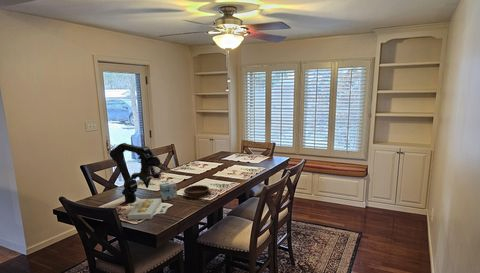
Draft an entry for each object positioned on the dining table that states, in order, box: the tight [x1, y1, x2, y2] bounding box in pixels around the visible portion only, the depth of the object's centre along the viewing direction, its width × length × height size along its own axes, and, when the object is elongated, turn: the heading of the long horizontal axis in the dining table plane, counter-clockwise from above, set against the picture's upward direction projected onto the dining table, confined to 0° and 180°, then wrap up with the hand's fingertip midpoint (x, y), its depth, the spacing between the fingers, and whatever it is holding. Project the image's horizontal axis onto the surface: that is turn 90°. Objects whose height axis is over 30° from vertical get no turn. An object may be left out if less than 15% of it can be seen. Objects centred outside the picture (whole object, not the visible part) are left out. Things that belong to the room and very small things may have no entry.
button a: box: [139, 207, 146, 212], centre depth 184 cm, size 4×4×4 cm
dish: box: [183, 184, 212, 199], centre depth 217 cm, size 18×22×5 cm
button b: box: [142, 201, 149, 208], centre depth 191 cm, size 4×4×4 cm
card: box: [156, 205, 169, 215], centre depth 191 cm, size 5×12×1 cm, turn 1°
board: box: [127, 198, 162, 221], centre depth 191 cm, size 14×26×3 cm, turn 1°
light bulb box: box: [159, 180, 178, 201], centre depth 213 cm, size 11×7×11 cm, turn 126°
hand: (147, 187), depth 200 cm, fingers closed
